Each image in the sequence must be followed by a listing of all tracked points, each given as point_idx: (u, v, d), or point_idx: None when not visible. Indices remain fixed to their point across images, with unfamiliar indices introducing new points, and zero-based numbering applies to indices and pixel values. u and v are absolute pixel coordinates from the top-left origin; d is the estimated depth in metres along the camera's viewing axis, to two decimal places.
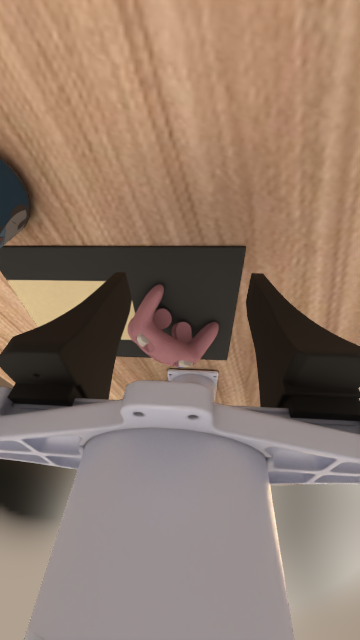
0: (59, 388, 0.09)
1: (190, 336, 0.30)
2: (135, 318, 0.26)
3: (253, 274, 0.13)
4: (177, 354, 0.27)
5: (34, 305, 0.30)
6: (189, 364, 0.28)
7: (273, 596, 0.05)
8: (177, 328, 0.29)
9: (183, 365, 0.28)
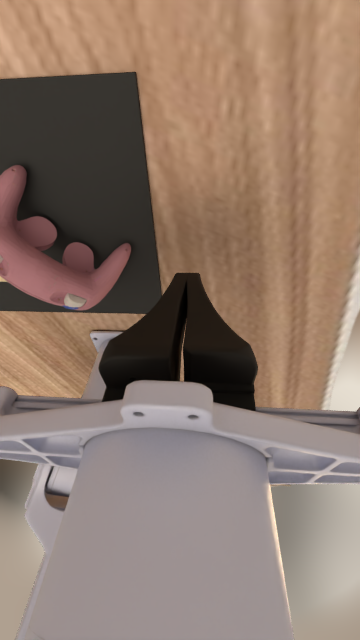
0: None
1: (92, 265, 0.20)
2: None
3: (188, 273, 0.13)
4: (50, 280, 0.17)
5: None
6: (80, 301, 0.18)
7: (273, 596, 0.05)
8: (66, 249, 0.19)
9: (72, 303, 0.19)
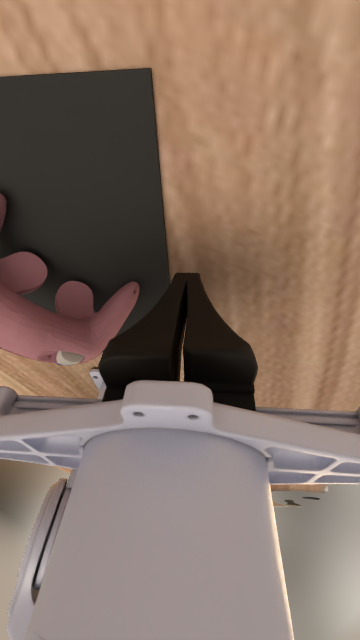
0: None
1: (91, 308, 0.16)
2: None
3: (188, 273, 0.13)
4: (37, 338, 0.13)
5: None
6: (76, 359, 0.14)
7: (273, 597, 0.05)
8: (59, 291, 0.15)
9: (66, 361, 0.15)
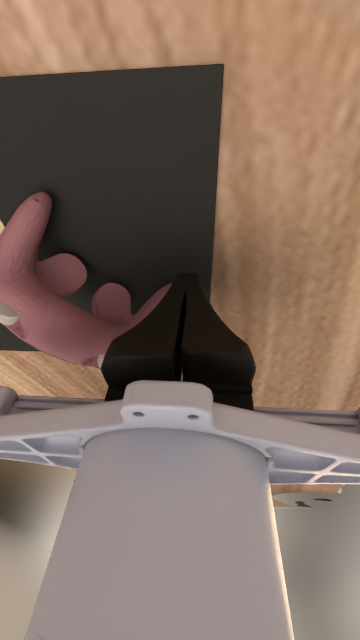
0: None
1: (129, 311, 0.16)
2: None
3: (187, 273, 0.13)
4: (83, 342, 0.13)
5: None
6: None
7: (273, 596, 0.05)
8: (98, 293, 0.15)
9: None
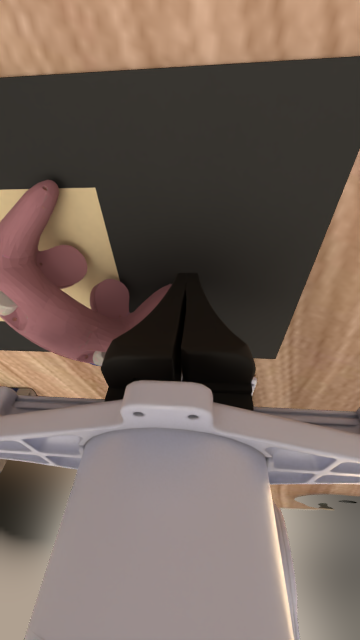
0: None
1: (127, 308, 0.16)
2: None
3: (187, 273, 0.13)
4: (82, 338, 0.12)
5: None
6: None
7: (273, 596, 0.05)
8: (98, 288, 0.15)
9: None
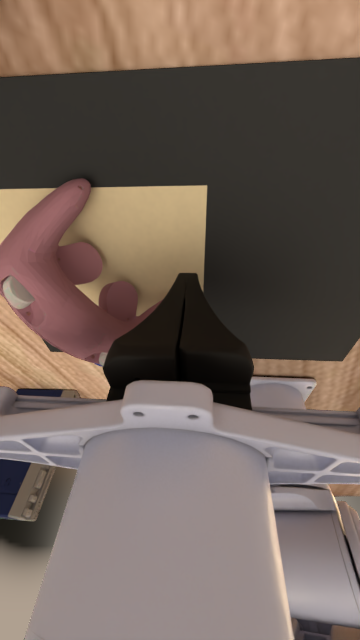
0: None
1: (134, 312, 0.16)
2: (7, 238, 0.11)
3: (186, 273, 0.13)
4: (96, 339, 0.12)
5: None
6: None
7: (273, 596, 0.05)
8: (110, 289, 0.15)
9: None
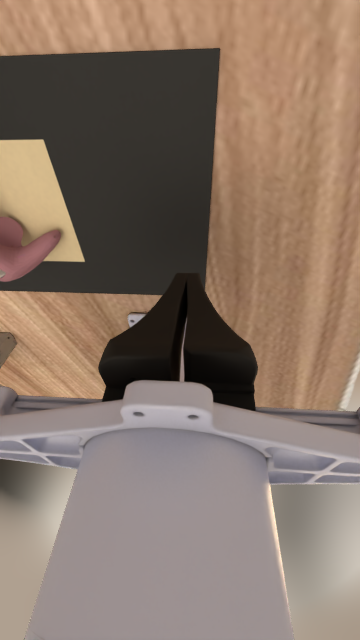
0: None
1: (19, 242, 0.22)
2: None
3: (188, 273, 0.13)
4: None
5: None
6: None
7: (273, 596, 0.05)
8: None
9: None
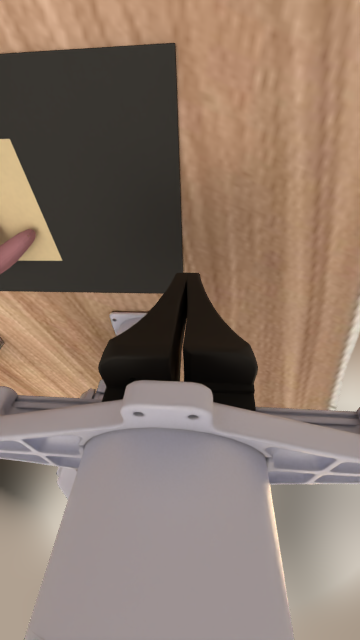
0: None
1: None
2: None
3: (188, 273, 0.13)
4: None
5: None
6: None
7: (273, 596, 0.05)
8: None
9: None
